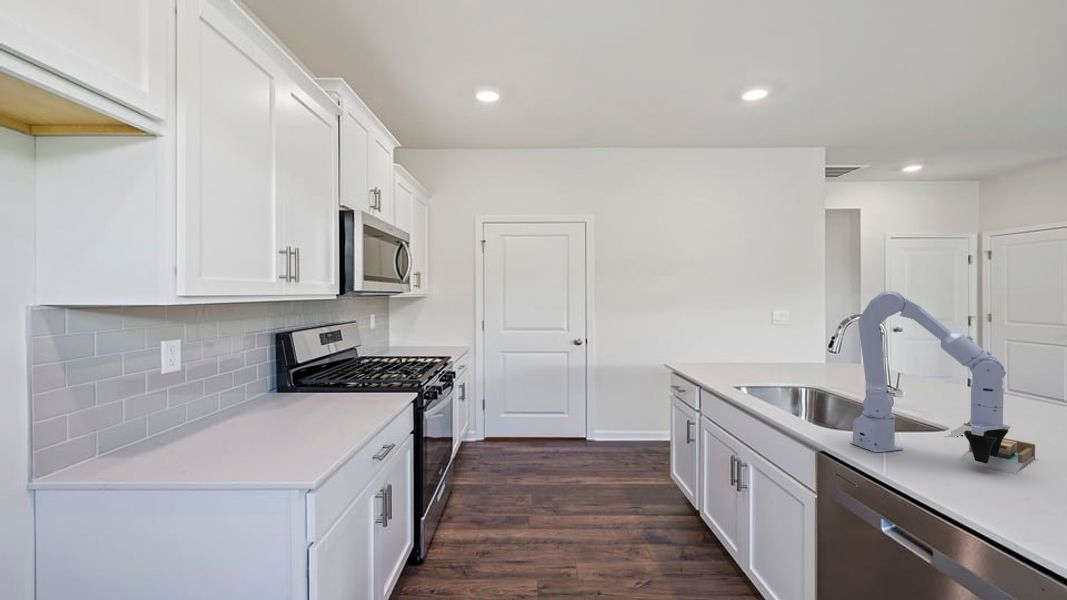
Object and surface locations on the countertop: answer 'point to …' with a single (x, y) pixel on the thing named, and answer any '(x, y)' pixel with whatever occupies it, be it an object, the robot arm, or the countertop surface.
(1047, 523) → the countertop surface
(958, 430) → the knife
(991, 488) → the countertop surface
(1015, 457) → the bay pad
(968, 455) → the dock
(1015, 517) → the countertop surface
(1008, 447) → the tan cardboard box
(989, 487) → the countertop surface
